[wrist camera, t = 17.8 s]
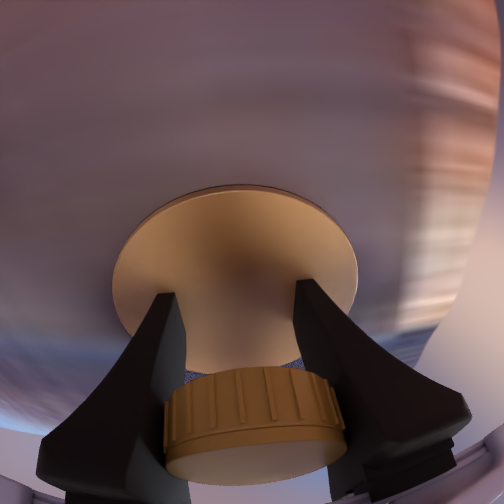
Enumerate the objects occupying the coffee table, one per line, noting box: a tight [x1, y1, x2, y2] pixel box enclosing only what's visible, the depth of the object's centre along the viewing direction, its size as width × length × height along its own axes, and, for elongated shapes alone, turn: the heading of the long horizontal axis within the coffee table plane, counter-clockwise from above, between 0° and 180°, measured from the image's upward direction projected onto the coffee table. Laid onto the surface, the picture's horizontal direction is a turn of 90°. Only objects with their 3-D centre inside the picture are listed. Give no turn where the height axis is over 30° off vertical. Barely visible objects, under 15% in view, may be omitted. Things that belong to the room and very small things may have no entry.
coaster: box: [112, 185, 358, 374], centre depth 11 cm, size 9×9×1 cm
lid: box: [163, 366, 348, 486], centre depth 7 cm, size 5×5×2 cm
